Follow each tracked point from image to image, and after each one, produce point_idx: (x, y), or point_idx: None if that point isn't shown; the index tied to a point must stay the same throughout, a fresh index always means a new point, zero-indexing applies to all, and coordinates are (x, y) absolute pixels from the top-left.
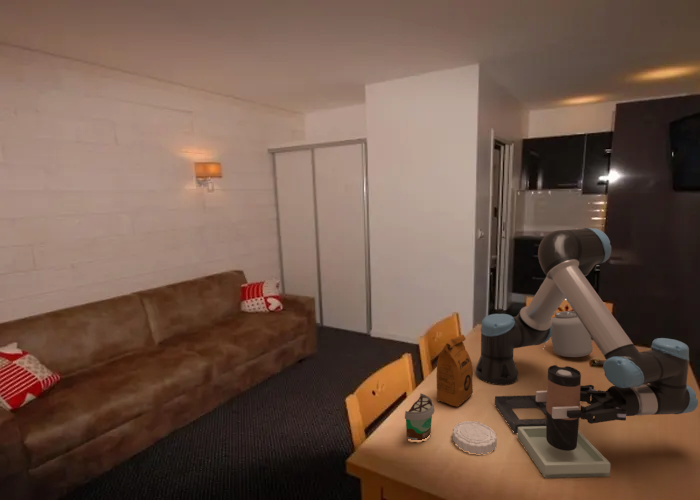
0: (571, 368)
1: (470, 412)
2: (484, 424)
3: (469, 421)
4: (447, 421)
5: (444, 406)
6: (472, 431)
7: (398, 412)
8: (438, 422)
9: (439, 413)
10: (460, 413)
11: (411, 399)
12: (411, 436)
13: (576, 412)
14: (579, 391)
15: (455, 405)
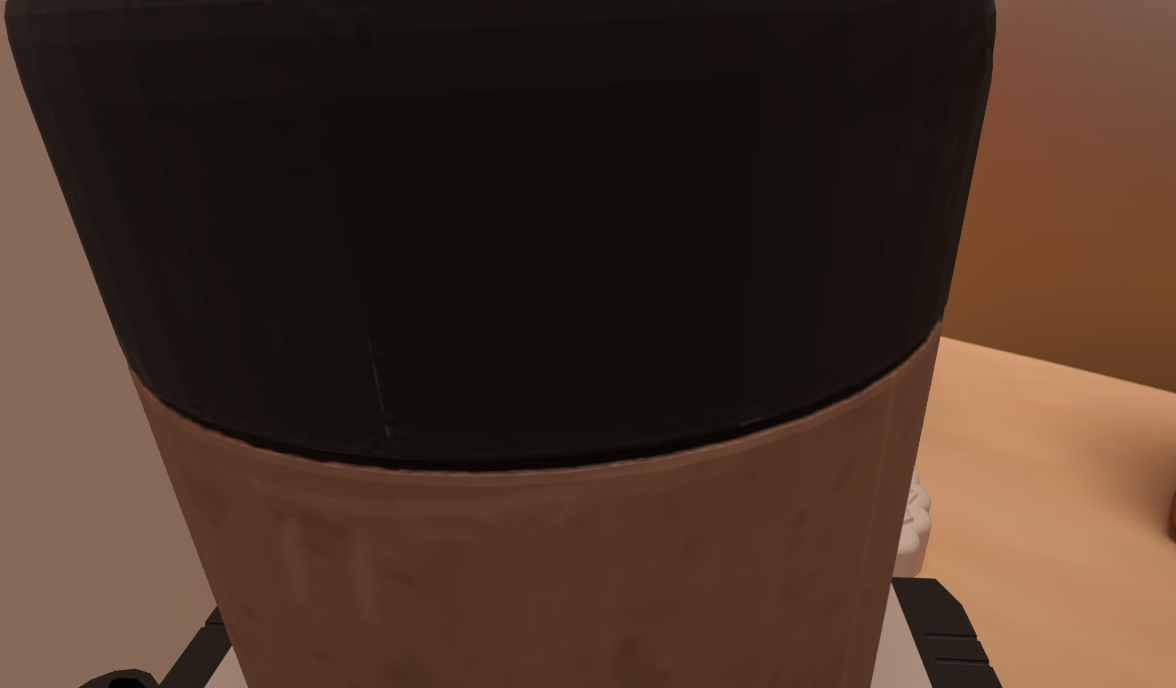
0: (790, 23)
1: (1164, 599)
2: (902, 545)
3: (917, 487)
4: (974, 471)
5: (1161, 491)
6: None
7: (985, 349)
8: (948, 440)
9: (1052, 458)
10: (1111, 543)
11: (1150, 391)
12: None
13: (203, 644)
14: (193, 539)
15: (1173, 513)
